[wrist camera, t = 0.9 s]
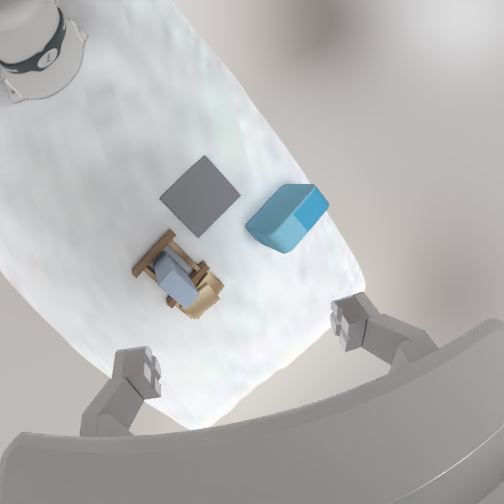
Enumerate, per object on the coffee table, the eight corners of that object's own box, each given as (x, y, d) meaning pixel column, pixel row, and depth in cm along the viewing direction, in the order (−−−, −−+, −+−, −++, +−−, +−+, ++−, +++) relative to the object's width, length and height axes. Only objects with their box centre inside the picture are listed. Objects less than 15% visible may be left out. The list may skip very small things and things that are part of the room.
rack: (132, 269, 49) (132, 274, 46) (170, 229, 50) (171, 231, 48) (169, 302, 53) (171, 308, 50) (206, 264, 54) (209, 268, 51)
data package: (258, 242, 57) (287, 256, 46) (243, 227, 55) (270, 237, 45) (297, 199, 58) (332, 203, 48) (283, 183, 57) (318, 183, 46)
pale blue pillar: (153, 262, 50) (158, 285, 39) (164, 250, 51) (172, 269, 39) (174, 282, 53) (186, 309, 41) (185, 270, 53) (200, 294, 41)
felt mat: (159, 198, 48) (159, 198, 48) (204, 155, 50) (205, 155, 49) (197, 237, 52) (198, 237, 52) (239, 195, 54) (240, 195, 53)
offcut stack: (173, 301, 53) (176, 311, 49) (205, 267, 54) (211, 274, 50) (191, 316, 55) (195, 326, 51) (222, 283, 56) (229, 291, 52)
